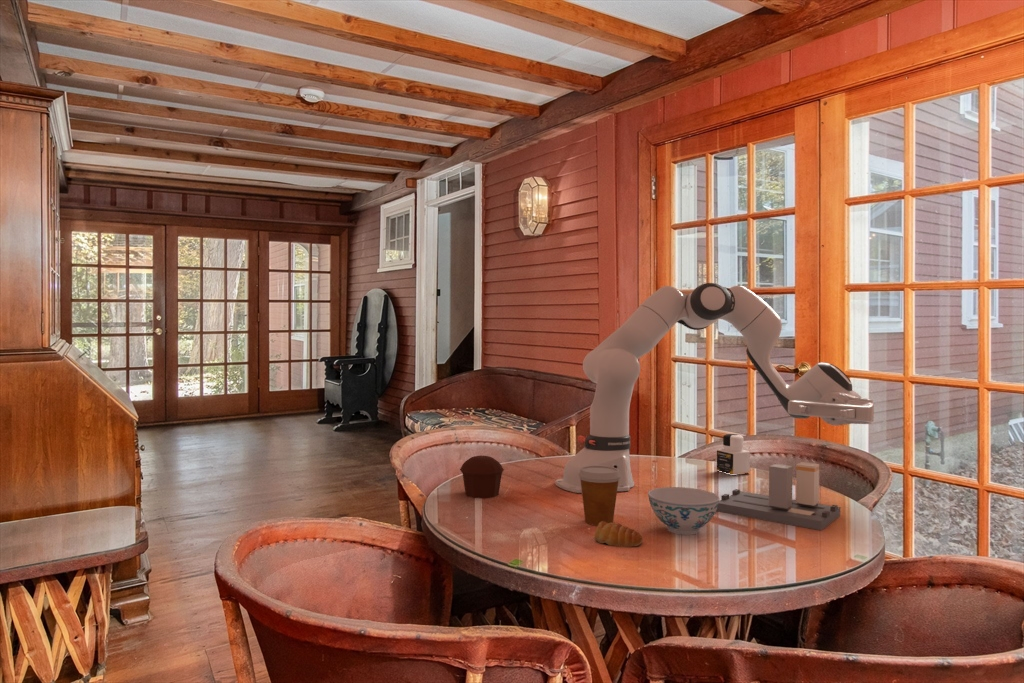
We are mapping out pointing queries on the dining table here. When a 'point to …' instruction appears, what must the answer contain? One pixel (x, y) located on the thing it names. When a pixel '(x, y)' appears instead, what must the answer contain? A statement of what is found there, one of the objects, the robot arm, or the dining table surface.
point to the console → (777, 510)
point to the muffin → (482, 477)
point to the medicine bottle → (733, 455)
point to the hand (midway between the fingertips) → (822, 412)
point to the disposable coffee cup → (599, 493)
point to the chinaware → (683, 508)
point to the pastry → (617, 535)
